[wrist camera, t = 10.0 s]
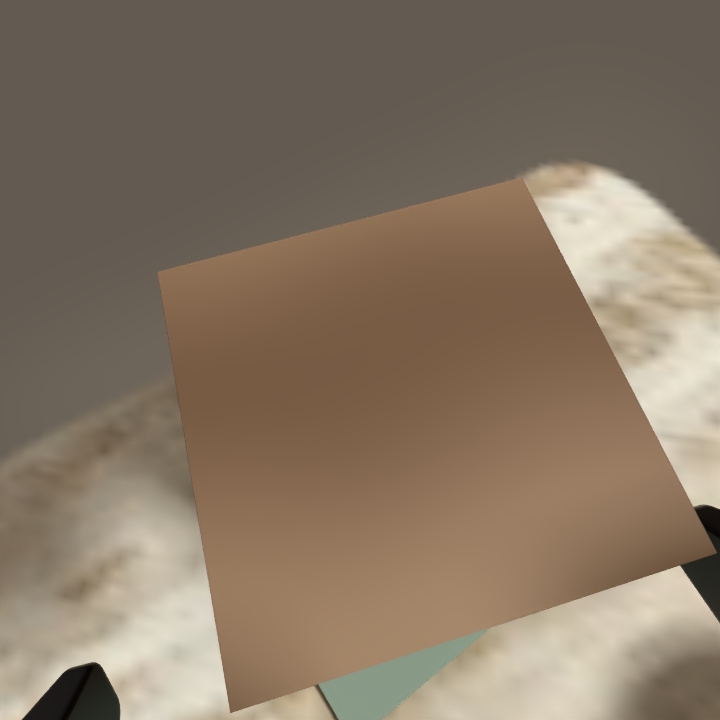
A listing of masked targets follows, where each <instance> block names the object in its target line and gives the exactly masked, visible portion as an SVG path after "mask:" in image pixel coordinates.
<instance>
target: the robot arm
mask: <svg viewBox="0 0 720 720" xmlns="http://www.w3.org/2000/svg"><path fill="white" fill-rule="evenodd" d="M693 508H694V510H695V511H696V513H697V515H698V517H699V519H700V521H701V523H702V525H703V527H704V529H705V531H706V533H707V534H708V536H709V538H710V540H711V542H712V544H713V546H714V548H715V550H716V552H717V553H716V554H713V555H710V556H707V557H704V558H701V559H698V560H695V561H692V562H689V563H686V564H682V565H680V566H681V567H682V569H683V570H684V572H685V573H686V575H687V576H688V578H689V579H690V581H691V582H692V584H693V585H694V586H695V588H696V589H697V591H698V592H699V594H700V595H701V597H702V598H703V599H704V601H705V602H706V604H707V605H708V607H709V608H710V610H711V611H712V613H713V614H714V615H715V617H716V618H717V620H718V621H719V623H720V509H718V508H715V507H712V506H709V505H698V506H695V507H693ZM22 720H120V703H119V699H118V696H117V694H116V693H115V691H114V689H113V687H112V685H111V683H110V681H109V679H108V677H107V676H106V674H105V672H104V670H103V668H102V667H101V665H100V664H98V663H96V662H91V663H87V664H84V665H80V666H76V667H72V668H70V669H68V670H66V671H65V672H64V673H63V674H62V675H61V676H60V677H59V678H58V679H57V680H56V682H55V683H54V684H53V685H52V686H51V687H50V688H49V690H48V691H47V692H46V693H45V694H44V695H43V696H42V698H41V699H40V700H39V701H38V702H37V703H36V704H35V705H34V707H33V708H32V709H31V710H30V711H29V712H28V713H27V715H26V716H25V717H24V718H23V719H22Z"/></svg>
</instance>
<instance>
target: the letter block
mask: <svg viewBox="0 0 720 720" xmlns="http://www.w3.org/2000/svg"><path fill="white" fill-rule="evenodd" d="M158 279H159V285H160V291H161V297H162V302H163V309H164V315H165V320H166V326H167V333H168V339H169V345H170V351H171V357H172V363H173V369H174V375H175V381H176V387H177V393H178V399H179V405H180V412H181V418H182V424H183V430H184V436H185V442H186V448H187V454H188V460H189V466H190V472H191V478H192V484H193V490H194V496H195V502H196V508H197V514H198V520H199V526H200V532H201V538H202V544H203V550H204V556H205V563H206V569H207V575H208V581H209V587H210V593H211V599H212V605H213V611H214V617H215V623H216V629H217V635H218V641H219V647H220V653H221V659H222V665H223V671H224V677H225V683H226V689H227V695H228V701H229V707H230V713H232V712H235V711H238V710H241V709H244V708H247V707H250V706H253V705H256V704H260V703H263V702H266V701H269V700H272V699H275V698H278V697H281V696H284V695H287V694H290V693H293V692H296V691H299V690H302V689H305V688H308V687H311V686H314V685H317V684H320V683H323V682H326V681H329V680H333V679H336V678H339V677H342V676H345V675H348V674H351V673H354V672H357V671H360V670H363V669H366V668H369V667H372V666H375V665H378V664H381V663H384V662H387V661H390V660H393V659H396V658H399V657H403V656H406V655H409V654H412V653H415V652H418V651H421V650H424V649H427V648H430V647H433V646H436V645H439V644H442V643H445V642H448V641H451V640H454V639H457V638H460V637H463V636H466V635H469V634H473V633H476V632H479V631H482V630H485V629H488V628H491V627H494V626H497V625H500V624H503V623H506V622H509V621H512V620H515V619H518V618H521V617H524V616H527V615H530V614H533V613H536V612H539V611H542V610H546V609H549V608H552V607H555V606H558V605H561V604H564V603H567V602H570V601H573V600H576V599H579V598H582V597H585V596H588V595H591V594H594V593H597V592H600V591H603V590H606V589H609V588H612V587H616V586H619V585H622V584H625V583H628V582H631V581H634V580H637V579H640V578H643V577H646V576H649V575H652V574H655V573H658V572H661V571H664V570H667V569H670V568H673V567H676V566H679V565H682V564H686V563H689V562H692V561H695V560H698V559H701V558H704V557H707V556H710V555H713V554H716V553H717V552H716V550H715V548H714V546H713V544H712V542H711V540H710V538H709V536H708V534H707V533H706V531H705V529H704V527H703V525H702V523H701V521H700V519H699V517H698V515H697V513H696V511H695V510H694V508H693V506H692V504H691V502H690V500H689V498H688V496H687V494H686V492H685V490H684V488H683V486H682V485H681V483H680V481H679V479H678V477H677V475H676V473H675V471H674V469H673V467H672V465H671V463H670V461H669V460H668V458H667V456H666V454H665V452H664V450H663V448H662V446H661V444H660V442H659V440H658V438H657V436H656V435H655V433H654V431H653V429H652V427H651V425H650V423H649V421H648V419H647V417H646V415H645V413H644V411H643V410H642V408H641V406H640V404H639V402H638V400H637V398H636V396H635V394H634V392H633V390H632V388H631V386H630V385H629V383H628V381H627V379H626V377H625V375H624V373H623V371H622V369H621V367H620V365H619V363H618V361H617V360H616V358H615V356H614V354H613V352H612V350H611V348H610V346H609V344H608V342H607V340H606V338H605V336H604V335H603V333H602V331H601V329H600V327H599V325H598V323H597V321H596V319H595V317H594V315H593V313H592V312H591V310H590V308H589V306H588V304H587V302H586V300H585V298H584V296H583V294H582V292H581V290H580V288H579V287H578V285H577V283H576V281H575V279H574V277H573V275H572V273H571V271H570V269H569V267H568V265H567V263H566V262H565V260H564V258H563V256H562V254H561V252H560V250H559V248H558V246H557V244H556V242H555V240H554V238H553V237H552V235H551V233H550V231H549V229H548V227H547V225H546V223H545V221H544V219H543V217H542V215H541V213H540V212H539V210H538V208H537V206H536V204H535V202H534V200H533V198H532V196H531V194H530V192H529V190H528V188H527V187H526V185H525V183H524V181H523V179H522V178H519V179H515V180H511V181H507V182H503V183H499V184H495V185H492V186H488V187H484V188H480V189H476V190H472V191H468V192H464V193H460V194H457V195H453V196H449V197H445V198H441V199H437V200H434V201H430V202H426V203H422V204H418V205H414V206H410V207H406V208H402V209H398V210H395V211H391V212H387V213H383V214H379V215H376V216H371V217H368V218H364V219H360V220H356V221H352V222H348V223H344V224H340V225H337V226H333V227H329V228H325V229H321V230H317V231H313V232H309V233H306V234H302V235H298V236H294V237H290V238H286V239H282V240H278V241H275V242H271V243H267V244H263V245H259V246H255V247H251V248H247V249H244V250H240V251H236V252H232V253H228V254H224V255H220V256H217V257H213V258H209V259H205V260H201V261H197V262H193V263H189V264H186V265H182V266H178V267H174V268H170V269H167V270H162V271H158Z"/></svg>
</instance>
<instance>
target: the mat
mask: <svg viewBox="0 0 720 720" xmlns="http://www.w3.org/2000/svg"><path fill="white" fill-rule="evenodd" d="M488 629H490V628H488ZM488 629H485V630H482V631H479V632H476V633H473V634H469V635H466V636H463V637H460V638H457V639H454V640H451V641H448V642H445V643H442V644H439V645H436V646H433V647H430V648H427V649H424V650H421V651H418V652H415V653H412V654H409V655H406V656H403V657H399V658H396V659H393V660H390V661H387V662H384V663H381V664H378V665H375V666H372V667H369V668H366V669H363V670H360V671H357V672H354V673H351V674H348V675H345V676H342V677H339V678H336V679H333V680H329V681H326V682H323V683H320V684H318V685H319V687H320V689H321V690H322V692H323V694H324V696H325V697H326V699H327V701H328V702H329V704H330V706H331V708H332V709H333V711H334V713H335V714H336V716H337V718H338V720H381V719H382V718H384V717H385V716H386V715H387V714H388V713H390V712H391V711H392V710H393V709H394V708H395V707H397V706H398V705H399V704H400V703H401V702H403V701H404V700H405V699H406V698H407V697H409V696H410V695H411V694H412V693H413V692H415V691H416V690H417V689H418V688H419V687H420V686H422V685H423V684H424V683H425V682H426V681H428V680H429V679H430V678H431V677H432V676H434V675H435V674H436V673H437V672H438V671H440V670H441V669H442V668H443V667H444V666H445V665H447V664H448V663H449V662H450V661H451V660H453V659H454V658H455V657H456V656H457V655H459V654H460V653H461V652H462V651H463V650H465V649H466V648H467V647H468V646H469V645H470V644H472V643H473V642H474V641H475V640H476V639H478V638H479V637H480V636H481V635H482V634H484V633H485V632H486V631H487V630H488Z"/></svg>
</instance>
